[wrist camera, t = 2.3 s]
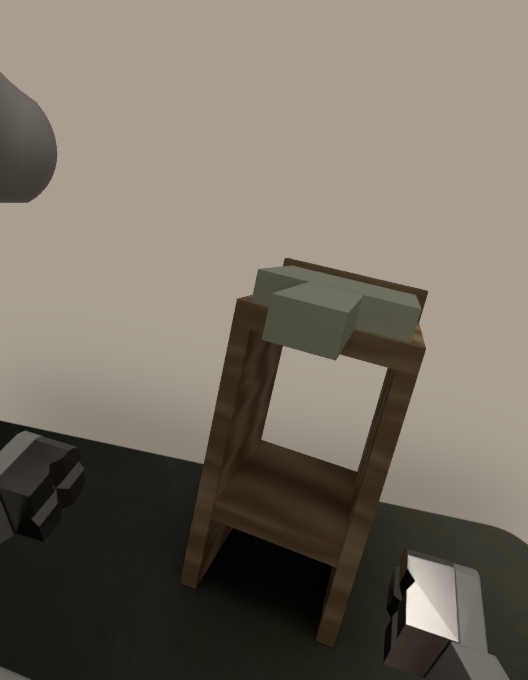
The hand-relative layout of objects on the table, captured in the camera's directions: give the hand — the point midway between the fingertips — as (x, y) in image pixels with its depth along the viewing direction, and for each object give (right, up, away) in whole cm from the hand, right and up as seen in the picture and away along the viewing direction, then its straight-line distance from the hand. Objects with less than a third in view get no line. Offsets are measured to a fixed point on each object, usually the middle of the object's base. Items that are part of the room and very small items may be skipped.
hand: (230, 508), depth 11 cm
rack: (+2, -18, +35) cm, 39 cm away
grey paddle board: (+6, +5, +23) cm, 24 cm away
